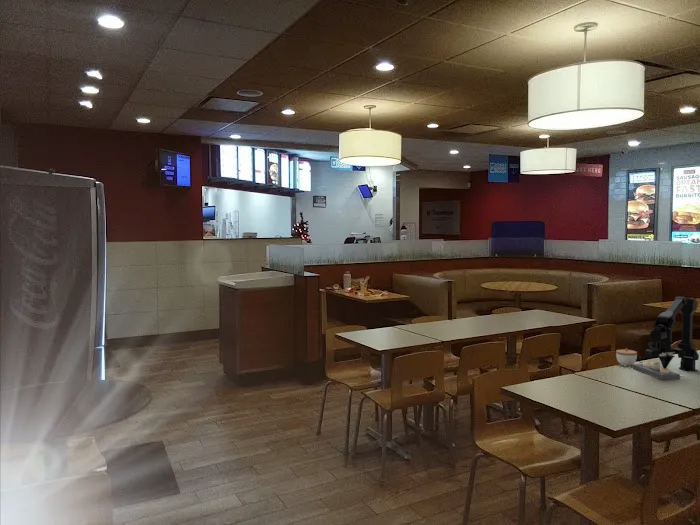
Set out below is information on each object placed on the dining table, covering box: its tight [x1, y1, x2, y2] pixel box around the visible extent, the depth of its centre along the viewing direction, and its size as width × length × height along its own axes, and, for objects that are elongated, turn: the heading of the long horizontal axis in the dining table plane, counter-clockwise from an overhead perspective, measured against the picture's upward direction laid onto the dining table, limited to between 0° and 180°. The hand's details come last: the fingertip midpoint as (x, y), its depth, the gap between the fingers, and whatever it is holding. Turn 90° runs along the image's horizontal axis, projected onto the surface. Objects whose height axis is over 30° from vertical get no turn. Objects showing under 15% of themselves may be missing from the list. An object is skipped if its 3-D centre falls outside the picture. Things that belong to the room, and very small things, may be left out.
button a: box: [642, 361, 652, 367], centre depth 305 cm, size 4×4×4 cm
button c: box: [660, 367, 670, 374], centre depth 291 cm, size 4×4×4 cm
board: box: [632, 363, 681, 381], centre depth 298 cm, size 10×24×2 cm, turn 7°
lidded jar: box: [615, 347, 638, 367], centre depth 318 cm, size 11×11×9 cm
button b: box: [650, 361, 661, 370], centre depth 298 cm, size 4×4×4 cm
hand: (664, 368), depth 291 cm, fingers closed, pressing on button c
